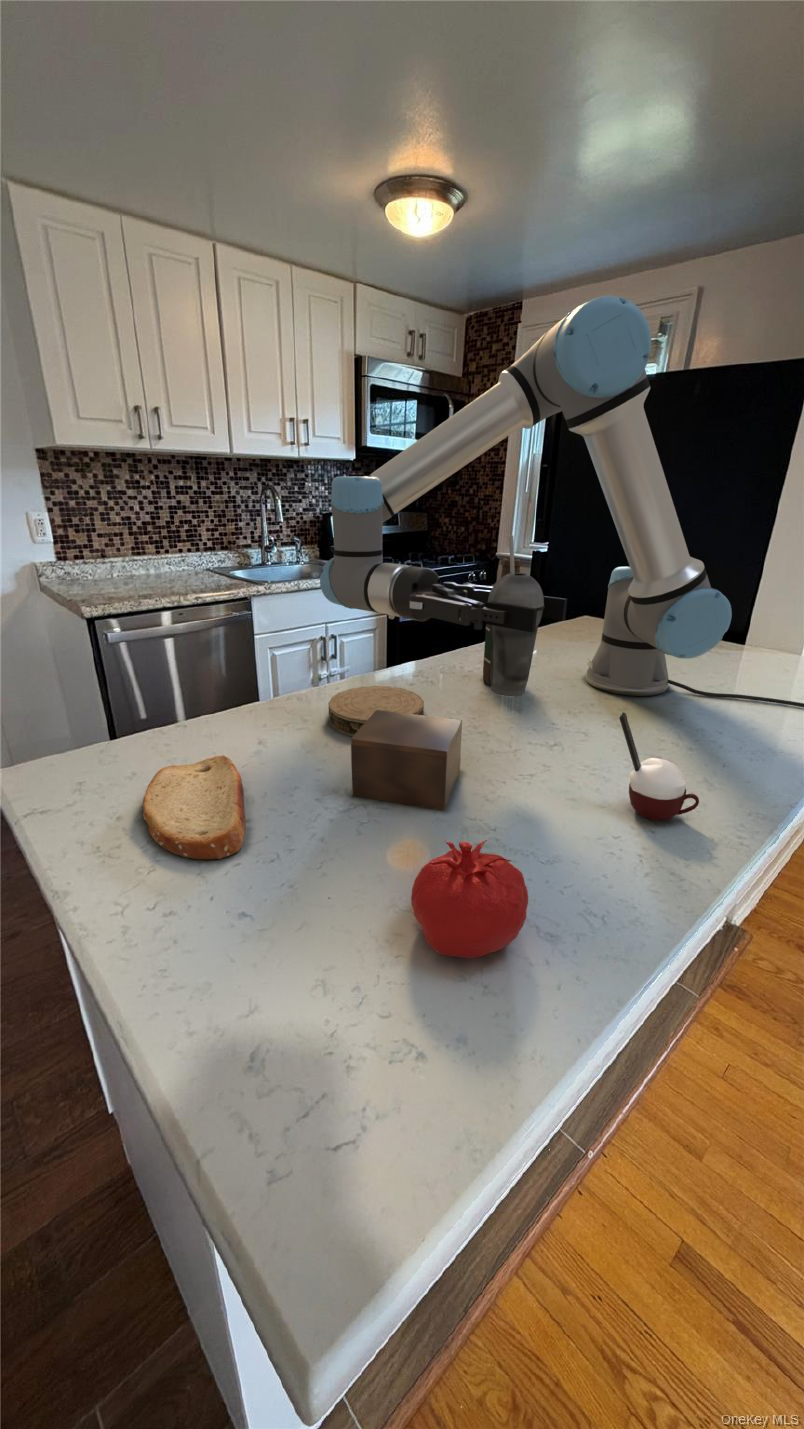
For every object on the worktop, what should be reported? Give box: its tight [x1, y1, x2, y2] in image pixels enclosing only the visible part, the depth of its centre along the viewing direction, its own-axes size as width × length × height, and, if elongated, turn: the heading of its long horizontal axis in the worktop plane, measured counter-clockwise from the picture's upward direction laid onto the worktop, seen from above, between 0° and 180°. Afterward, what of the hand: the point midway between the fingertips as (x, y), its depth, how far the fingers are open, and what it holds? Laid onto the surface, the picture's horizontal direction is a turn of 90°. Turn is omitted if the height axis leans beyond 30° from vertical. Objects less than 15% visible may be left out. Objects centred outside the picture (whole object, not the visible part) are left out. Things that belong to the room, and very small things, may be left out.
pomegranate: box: [410, 839, 529, 959], centre depth 49 cm, size 10×10×9 cm
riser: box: [350, 710, 463, 811], centre depth 73 cm, size 12×10×8 cm
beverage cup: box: [488, 535, 545, 697], centre depth 72 cm, size 7×7×20 cm
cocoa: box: [619, 711, 700, 822], centre depth 67 cm, size 10×6×12 cm, turn 38°
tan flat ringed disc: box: [327, 685, 425, 737], centre depth 95 cm, size 16×16×3 cm
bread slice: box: [142, 754, 246, 860], centre depth 68 cm, size 18×18×4 cm
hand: (550, 615), depth 69 cm, fingers closed on beverage cup, 7 cm apart
